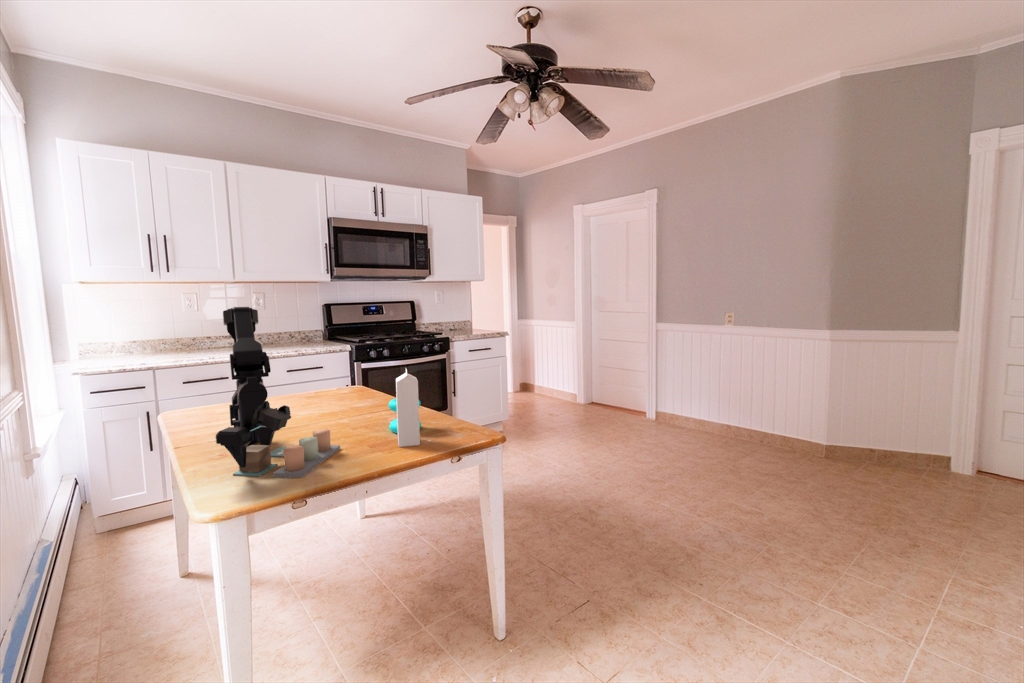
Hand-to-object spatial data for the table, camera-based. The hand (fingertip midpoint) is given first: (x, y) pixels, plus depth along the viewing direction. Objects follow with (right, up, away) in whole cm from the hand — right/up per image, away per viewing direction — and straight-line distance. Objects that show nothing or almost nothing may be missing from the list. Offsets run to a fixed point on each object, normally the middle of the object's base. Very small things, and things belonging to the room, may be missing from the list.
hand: (255, 460), depth 116 cm
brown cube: (0, -2, 0) cm, 2 cm away
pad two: (0, -3, 0) cm, 2 cm away
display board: (+11, -2, +6) cm, 13 cm away
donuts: (+30, +1, +34) cm, 45 cm away
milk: (+34, 0, +21) cm, 40 cm away
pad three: (+1, -1, +13) cm, 13 cm away
